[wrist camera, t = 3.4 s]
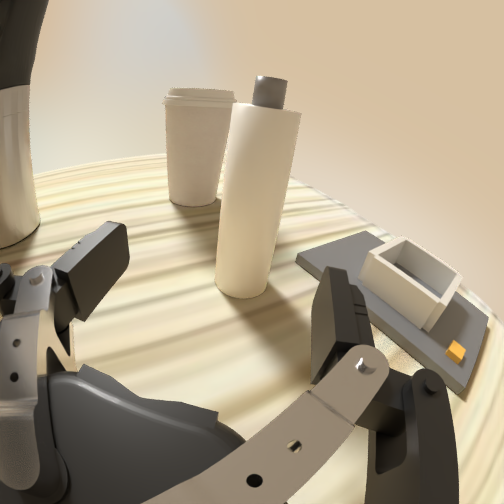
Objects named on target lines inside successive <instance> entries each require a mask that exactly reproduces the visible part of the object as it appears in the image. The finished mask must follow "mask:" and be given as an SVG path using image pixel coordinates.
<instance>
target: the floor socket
mask: <svg viewBox="0 0 504 504" xmlns="http://www.w3.org/2000/svg"><path fill="white" fill-rule="evenodd" d="M295 262H296V263H297V264H299V265H300V266H301V267H303V268H304V269H305V270H306V271H308V272H309V273H310V274H311V275H313V276H314V277H315V278H317V279H318V280H319V281H320V280H321V278H322V275H323V272H324V269H325V267H326V266H331V267H336V268H340V269H345V270H346V271H347V275H348V279H349V284H352V285H357V287H358V288H359V290H360V291H361V292H362V294H363V295H364V299H365V303H366V308H367V311H368V317H369V320H370V322H371V323H372V324H374V325H375V326H376V327H377V328H379V329H380V330H381V331H382V332H383V333H385V334H386V335H387V336H388V337H390V338H391V339H392V340H393V341H394V342H396V343H397V344H398V345H399V346H400V347H402V348H403V349H404V350H405V351H406V352H408V353H409V354H410V355H411V356H412V357H414V358H415V359H416V360H417V361H418V362H420V363H421V364H422V365H423V366H424V367H425V368H427V369H430V370H433V371H435V372H436V373H438V374H439V375H440V376H441V378H442V379H443V381H444V383H445V385H447V386H448V387H449V388H450V389H451V390H452V391H454V392H455V393H456V394H457V395H458V394H459V393H461V392H462V391H463V390H464V389H465V388H466V385H467V383H468V380H469V378H470V375H471V373H472V370H473V367H474V365H475V362H476V359H477V356H478V353H479V350H480V347H481V344H482V340H483V337H484V333H485V330H486V326H487V322H488V318H489V317H488V316H486V315H485V314H484V313H483V312H481V311H480V310H479V309H478V308H477V307H475V306H474V305H473V304H471V303H470V302H469V301H468V300H466V299H465V298H464V297H462V296H461V295H460V294H458V293H457V292H456V289H457V287H458V286H459V284H460V282H461V280H462V278H463V276H461V275H460V274H459V273H458V271H457V270H455V269H454V268H453V267H451V266H450V265H448V264H447V263H445V262H444V261H442V260H441V259H440V258H438V257H437V256H435V255H434V254H432V253H431V252H429V251H428V250H426V249H424V248H423V247H422V246H420V245H419V244H417V243H415V242H414V241H412V240H411V239H407V238H405V237H403V236H399V237H397V238H395V239H393V240H391V241H389V242H387V243H385V242H383V241H382V240H380V239H379V238H377V237H375V236H374V235H372V234H370V233H369V232H367V231H363V232H360V233H357V234H354V235H351V236H348V237H345V238H342V239H339V240H336V241H333V242H330V243H327V244H324V245H321V246H318V247H315V248H312V249H309V250H306V251H303V252H300V253H298V254H297V258H296V261H295Z"/></svg>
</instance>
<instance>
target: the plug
mask: <svg viewBox="0 0 504 504" xmlns="http://www.w3.org/2000/svg"><path fill="white" fill-rule="evenodd" d="M286 88H287V81H286V80H282V79H278V78H272V77H265V76H256V80H255V87H254V93H253V100H252V104H244V103H233V106H232V114H231V122H230V129H229V138H228V146H227V154H226V163H225V172H224V181H223V190H222V200H221V210H220V221H219V232H218V244H217V256H216V269H215V284H216V286H217V287H218V289H219V290H220V291H222V292H223V293H225V294H226V295H228V296H231V297H235V298H241V299H247V298H253V297H256V296H258V295H260V294H262V293H263V292H264V290H265V289H266V285H267V281H268V276H269V271H270V267H271V262H272V258H273V253H274V248H275V244H276V239H277V234H278V230H279V225H280V220H281V215H282V210H283V205H284V201H285V196H286V191H287V186H288V181H289V176H290V170H291V165H292V160H293V155H294V150H295V144H296V139H297V134H298V129H299V123H300V118H301V113H299V112H295V111H290V110H286V109H283V105H284V99H285V93H286Z"/></svg>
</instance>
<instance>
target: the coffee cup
mask: <svg viewBox="0 0 504 504" xmlns="http://www.w3.org/2000/svg"><path fill="white" fill-rule="evenodd" d="M233 103H237V100H236V99H234V93H233V91H226V90H215V89H199V88H170V90H169V93H168V95H167V96H165V99H164V100H163V102H162V104H164V105H165V108H166V148H167V170H168V187H169V198H170V200H171V201H172V202H173V203H175V204H178V205H182V206H189V207H199V206H205V205H209V204H211V203H213V202H214V201H215V199H216V194H217V188H218V183H219V177H220V172H221V167H222V162H223V157H224V152H225V147H226V142H227V138H228V133H229V129H230V122H231V114H232V106H233Z"/></svg>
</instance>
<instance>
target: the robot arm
mask: <svg viewBox="0 0 504 504" xmlns="http://www.w3.org/2000/svg"><path fill="white" fill-rule="evenodd" d="M48 1H49V0H0V248H3V247H7V246H10V245H12V244H14V243H16V242H19V241H20V240H22V239H24V238H25V237H27V236H28V235H29V234H31V233H32V232H33V231H34V230H35V229H36V228H37V226H38V225H39V223H40V215H39V210H38V205H37V199H36V193H35V186H34V179H33V171H32V163H31V150H30V133H29V94H30V77H31V72H32V67H33V64H34V60H35V54H36V48H37V43H38V38H39V34H40V29H41V26H42V22H43V19H44V15H45V12H46V8H47V5H48ZM129 259H130V256H129V247H128V239H127V229H126V226H125V225H124V224H122V223H117V222H112V221H107V222H105V223H104V224H103V225H102V226H100V227H99V228H98V229H97V230H96V231H94V232H92V233H89V234H87V235H85V236H84V237H83V238H82V239H81V240H80V241H78V243H76V244H75V245H74V246H73V247H72V249H69V250H68V251H67V252H66V253H65V254H64V255H62V256H61V257H60V258H59V259H58V260H57V261H56V262H55V263H54V264H53V265H52V266H51V267H48V266H44V265H41V266H36V267H34V268H32V269H30V270H28V271H27V272H26V273H25V274H24V275H23V276H14V274H13V272H12V269H11V267H10V265H9V264H6V263H2V264H0V313H1V314H2V316H3V319H2V320H1V322H0V504H288V503H287V502H286V501H287V500H288V499H289V498H290V497H291V496H293V495H294V494H295V493H296V492H297V491H298V490H299V489H300V488H301V487H302V486H303V485H304V484H305V483H306V482H307V481H308V480H309V479H310V478H311V477H312V476H313V475H314V474H315V473H316V472H317V471H318V470H319V469H320V468H321V467H322V466H323V465H324V464H325V463H326V461H327V460H328V459H329V458H330V457H331V456H332V455H333V454H334V453H335V451H336V450H337V449H338V448H339V447H340V446H341V444H342V443H343V442H344V441H345V440H346V438H347V437H348V436H349V435H350V433H351V432H352V430H353V429H354V427H355V426H354V424H356V425H358V426H361V427H364V428H367V429H369V439H368V467H367V482H366V494H365V503H364V504H459V476H458V461H457V450H456V441H455V433H454V426H453V420H452V414H451V408H450V403H449V398H448V393H447V389H446V385H445V383H444V381H443V379H442V378H441V376H440V375H439V374H438V373H436V372H435V371H433V370H430V369H420V370H418V371H416V372H415V374H414V375H413V376H409V375H406V374H404V373H401V372H398V371H396V370H393V369H391V368H390V367H389V363H388V360H387V359H386V357H385V356H384V354H383V353H382V352H380V351H379V350H378V349H376V348H375V345H374V340H373V335H372V330H371V325H370V320H369V317H368V311H367V308H366V303H365V299H364V295H363V294H362V292H361V291H360V290H359V288H358V287H357V285H352V284H349V279H348V275H347V271H346V270H345V269H340V268H336V267H331V266H326V267H325V269H324V272H323V275H322V278H321V280H320V283H319V286H318V289H317V291H316V294H315V297H314V300H313V304H312V311H311V384H314V385H316V386H315V387H314V388H313V389H312V390H310V391H309V390H308V391H306V392H305V393H303V394H302V395H301V396H300V397H299V398H298V399H297V400H296V401H294V402H293V403H292V404H291V405H290V406H289V407H288V408H287V409H285V410H284V411H283V412H282V413H281V414H280V415H279V416H277V417H276V418H275V419H274V420H273V421H271V422H270V423H269V424H268V425H267V426H265V427H264V428H263V429H262V430H260V431H259V432H258V433H257V434H255V435H254V436H253V437H252V438H250V439H249V440H248V441H246V440H245V439H244V438H243V437H242V436H240V435H239V434H238V433H237V432H235V431H234V430H233V429H231V428H230V427H228V426H226V425H225V424H223V423H221V422H219V421H218V412H216V411H212V410H208V409H204V408H200V407H197V406H193V405H190V404H186V403H183V402H176V401H164V400H154V399H146V398H141V397H139V396H137V395H135V394H134V393H133V392H131V391H130V390H128V389H127V388H126V387H124V386H123V385H122V384H120V383H119V382H118V381H116V380H115V379H114V378H112V377H111V376H109V375H107V374H104V373H102V372H100V371H98V370H96V369H93V368H91V367H89V366H87V365H85V364H83V365H82V367H81V369H80V370H79V372H78V371H77V368H76V363H75V353H74V336H73V324H72V322H71V321H72V319H73V318H74V317H75V318H77V319H79V320H81V321H84V322H85V321H86V319H87V318H88V317H89V315H90V314H91V313H92V312H93V310H94V309H95V308H96V306H97V305H98V304H99V303H100V301H101V300H102V299H103V297H104V296H105V295H106V294H107V292H108V291H109V290H110V289H111V287H112V286H113V285H114V284H115V283H116V281H117V280H118V279H119V278H120V277H121V275H122V274H123V273H124V272H125V271H126V269H127V267H128V264H129Z"/></svg>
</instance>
